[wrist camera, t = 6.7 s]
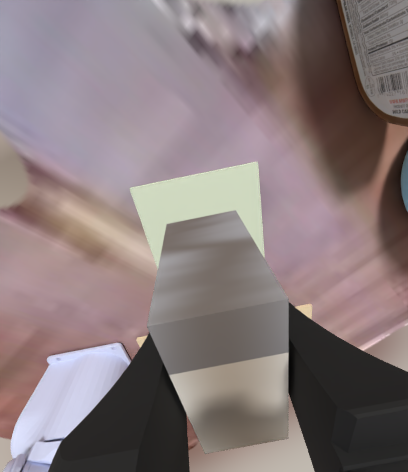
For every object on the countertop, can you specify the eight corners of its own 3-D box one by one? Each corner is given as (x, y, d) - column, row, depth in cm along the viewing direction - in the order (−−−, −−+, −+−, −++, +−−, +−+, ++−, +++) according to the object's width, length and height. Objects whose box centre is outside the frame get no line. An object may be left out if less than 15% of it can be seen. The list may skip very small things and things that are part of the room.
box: (197, 329, 16) (205, 454, 10) (166, 224, 12) (146, 326, 6) (249, 319, 16) (288, 438, 10) (235, 210, 12) (288, 298, 6)
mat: (162, 278, 23) (161, 281, 22) (131, 187, 18) (129, 189, 18) (263, 258, 23) (264, 260, 22) (256, 161, 18) (257, 162, 18)
